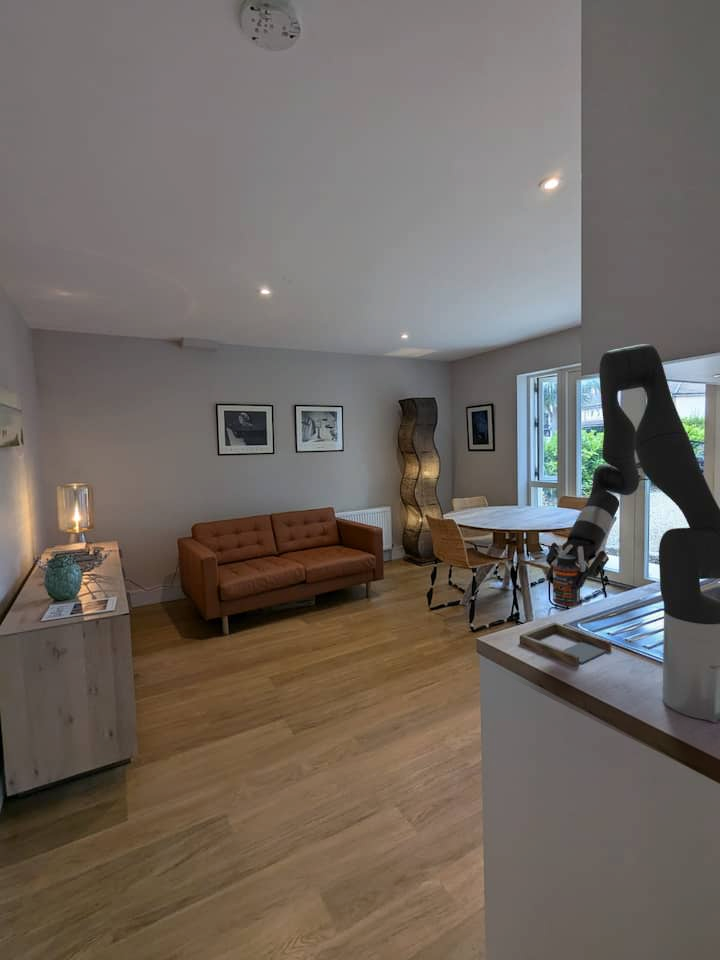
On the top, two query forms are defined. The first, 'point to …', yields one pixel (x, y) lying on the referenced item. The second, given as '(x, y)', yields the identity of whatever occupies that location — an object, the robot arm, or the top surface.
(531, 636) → the frame
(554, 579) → the supplement bottle
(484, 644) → the top surface
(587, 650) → the front pad
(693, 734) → the top surface
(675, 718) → the top surface
